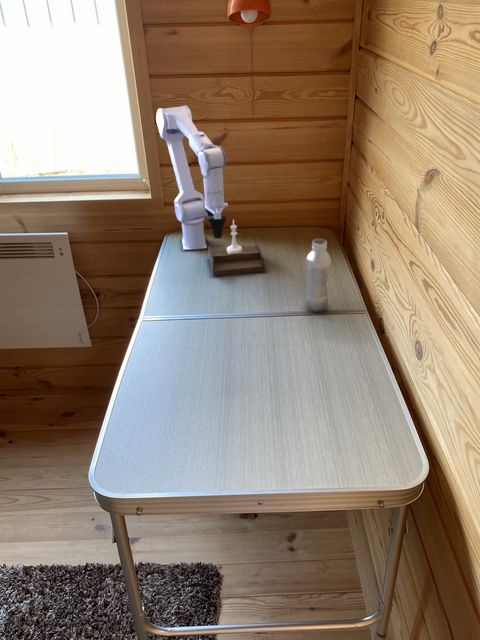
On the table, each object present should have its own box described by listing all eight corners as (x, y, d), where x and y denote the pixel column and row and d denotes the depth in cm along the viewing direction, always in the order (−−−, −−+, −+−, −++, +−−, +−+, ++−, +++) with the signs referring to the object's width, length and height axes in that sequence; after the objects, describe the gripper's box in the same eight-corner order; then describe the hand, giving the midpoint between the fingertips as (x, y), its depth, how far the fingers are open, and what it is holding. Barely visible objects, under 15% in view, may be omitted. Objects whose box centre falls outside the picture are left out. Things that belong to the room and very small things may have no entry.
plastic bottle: (326, 315, 141) (331, 247, 129) (302, 313, 142) (305, 245, 130) (328, 304, 146) (334, 237, 134) (305, 301, 147) (308, 235, 135)
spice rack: (209, 260, 170) (208, 246, 167) (257, 256, 172) (257, 242, 169) (213, 276, 160) (212, 261, 157) (264, 272, 162) (264, 257, 160)
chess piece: (242, 246, 168) (241, 217, 162) (242, 253, 164) (241, 223, 158) (227, 247, 168) (225, 217, 162) (226, 253, 164) (225, 223, 158)
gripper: (230, 197, 149) (232, 241, 157) (224, 181, 160) (225, 223, 168) (206, 198, 148) (209, 243, 156) (201, 183, 159) (204, 225, 167)
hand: (216, 233), depth 162 cm, fingers open, 7 cm apart
